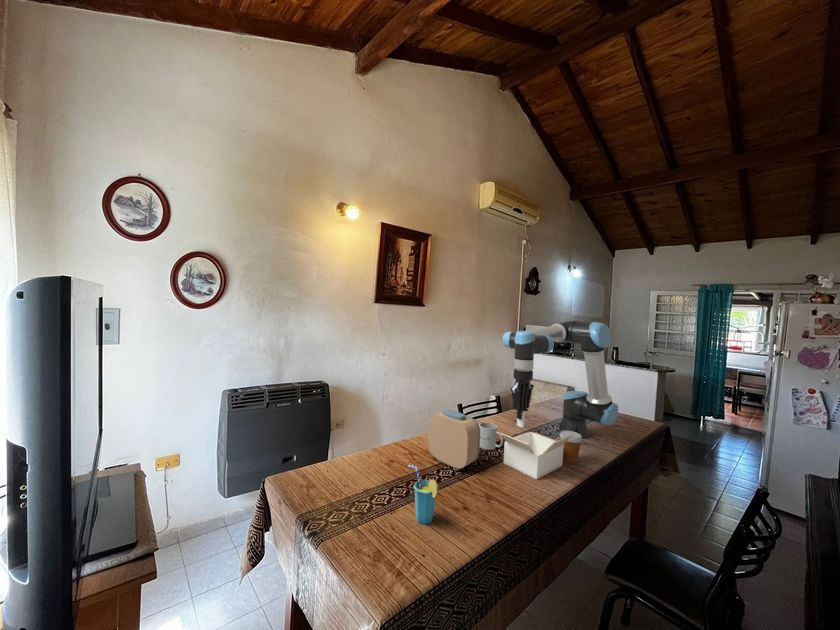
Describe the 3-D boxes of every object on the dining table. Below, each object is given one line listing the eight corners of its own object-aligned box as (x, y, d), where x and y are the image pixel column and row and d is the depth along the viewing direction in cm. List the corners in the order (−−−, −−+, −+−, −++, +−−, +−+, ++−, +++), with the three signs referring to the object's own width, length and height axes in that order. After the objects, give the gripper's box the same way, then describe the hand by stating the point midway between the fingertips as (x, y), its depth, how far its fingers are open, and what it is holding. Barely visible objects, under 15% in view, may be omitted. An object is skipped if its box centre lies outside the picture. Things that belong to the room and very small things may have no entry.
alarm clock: (479, 467, 139) (481, 416, 138) (465, 475, 132) (468, 422, 131) (441, 450, 153) (443, 404, 152) (427, 457, 146) (429, 408, 145)
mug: (474, 444, 162) (475, 424, 162) (485, 440, 167) (486, 421, 167) (494, 454, 152) (495, 432, 152) (505, 449, 158) (507, 429, 157)
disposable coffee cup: (583, 466, 144) (585, 439, 144) (560, 463, 146) (561, 436, 146) (577, 457, 154) (579, 431, 153) (555, 454, 155) (557, 429, 155)
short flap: (501, 432, 139) (500, 433, 139) (528, 444, 129) (527, 445, 129) (507, 441, 142) (506, 442, 142) (534, 452, 132) (533, 453, 132)
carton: (529, 451, 157) (530, 430, 157) (563, 465, 144) (564, 443, 144) (502, 462, 144) (503, 440, 144) (536, 479, 132) (538, 455, 131)
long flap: (572, 434, 138) (572, 435, 138) (561, 444, 142) (562, 444, 142) (552, 442, 129) (553, 443, 129) (542, 453, 132) (543, 453, 132)
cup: (398, 512, 107) (400, 466, 107) (415, 502, 113) (417, 459, 112) (430, 534, 97) (432, 484, 97) (447, 523, 103) (449, 475, 102)
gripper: (524, 366, 142) (522, 420, 143) (505, 369, 134) (503, 426, 135) (540, 369, 136) (537, 425, 137) (521, 372, 128) (519, 432, 129)
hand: (520, 426), depth 136 cm, fingers closed
